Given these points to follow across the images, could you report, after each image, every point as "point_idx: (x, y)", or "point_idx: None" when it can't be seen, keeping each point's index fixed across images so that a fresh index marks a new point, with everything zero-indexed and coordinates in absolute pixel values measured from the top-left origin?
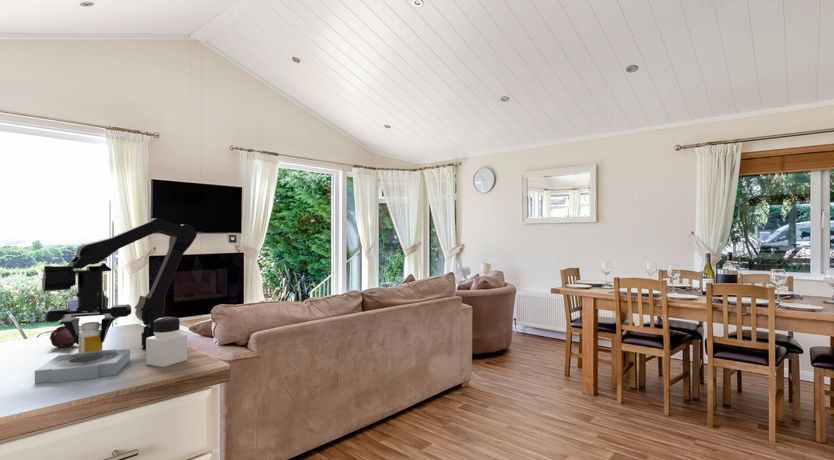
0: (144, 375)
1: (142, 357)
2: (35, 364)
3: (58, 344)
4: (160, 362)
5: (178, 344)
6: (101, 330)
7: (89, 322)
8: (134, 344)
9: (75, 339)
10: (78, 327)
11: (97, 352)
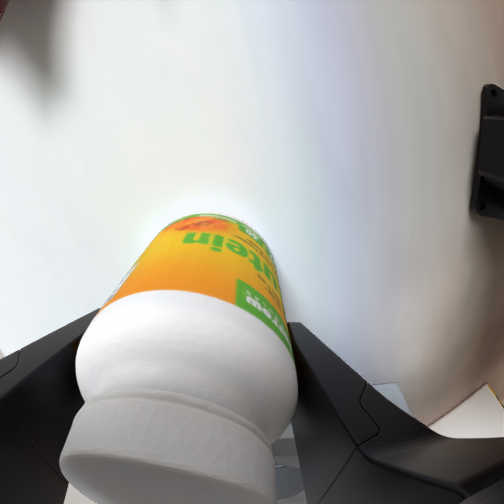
0: None
1: (437, 362)
2: (9, 286)
3: None
4: None
5: None
6: (304, 469)
7: (108, 470)
8: (417, 16)
9: None
10: (25, 400)
11: (282, 442)
